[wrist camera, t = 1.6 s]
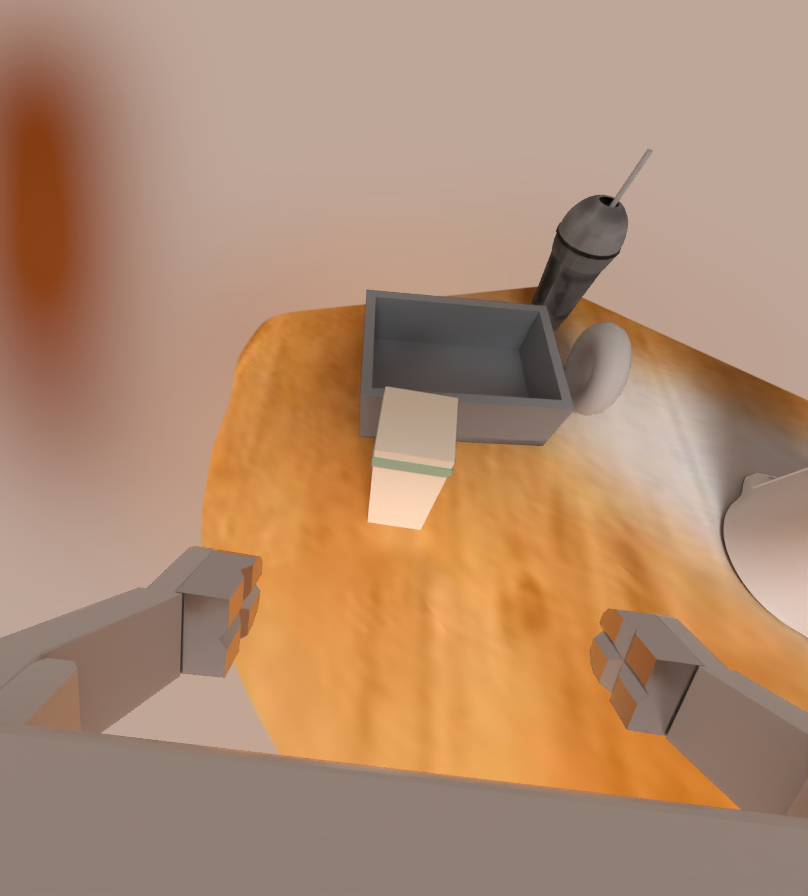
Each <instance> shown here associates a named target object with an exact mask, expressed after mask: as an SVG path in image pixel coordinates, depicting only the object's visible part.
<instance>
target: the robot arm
mask: <svg viewBox="0 0 808 896" xmlns="http://www.w3.org/2000/svg"><path fill="white" fill-rule="evenodd" d="M724 540H725V545H726V549H727V552H728V555H729V557H730V560H731V562H732V564H733V566H734V568H735V570H736V572H737V574H738V575H739V577H740V579H741V580H742V582H743V583H744V584H745V586H746V587H747V589H748V590H749V591H750V592H751V594H752V595H753V596H754V597H755V598H756V599H757V600H758V601H759V602H760V604H762V605H763V606H764V607H765V608H766V609H767V610H768V611H769V612H770V613H771V614H773V615H774V616H775V617H776V618H778V619H779V620H780V621H782V622H783V623H785V624H786V625H788V626H789V627H791V628H793V629H794V630H796V631H798V632H799V633H801V634H802V635H804V636H805V637H807V638H808V467H807V468H804V469H801V470H798V471H795V472H793V473H790V474H787V475H784V476H782V477H777V476H773V475H768V474H764V473H754V474H751V475H748V476H747V477H746V478H745V480H744V483H743V488H742V494H741V495H740V497H739V498H738V499H737V500H736V501H735V502H734V503H732V505H731V506H730V507H729V509H728V511H727V513H726V516H725V519H724ZM261 574H262V559H261V557H259V556H254V555H248V554H242V553H236V552H230V551H224V550H216V549H212V548H205V547H197V546H194V547H190V548H188V549H187V550H186V551H185V552H184V553H183V554H182V555H181V556H180V557H179V558H178V559H177V560H176V561H175V562H174V563H173V564H172V565H170V566H169V567H168V569H166V570H165V571H164V572H163V573H162V574H161V575H160V576H159V577H158V578H157V579H156V580H155V581H154V582H153V583H152V584H151V585H150V586H149V587H147V588H136V589H133V590H131V591H128V592H125V593H122V594H120V595H117V596H114V597H111V598H109V599H106V600H103V601H101V602H98V603H95V604H92V605H90V606H87V607H84V608H81V609H79V610H76V611H73V612H70V613H68V614H65V615H62V616H60V617H57V618H54V619H51V620H49V621H46V622H43V623H40V624H38V625H35V626H32V627H29V628H27V629H24V630H21V631H19V632H16V633H13V634H10V635H8V636H5V637H2V638H0V896H808V713H806V712H805V711H803V710H801V709H800V708H798V707H796V706H794V705H793V704H791V703H789V702H788V701H786V700H784V699H783V698H781V697H779V696H777V695H776V694H774V693H772V692H771V691H769V690H767V689H766V688H764V687H762V686H760V685H759V684H757V683H755V682H754V681H752V680H750V679H749V678H747V677H745V676H743V675H742V674H740V673H738V672H737V671H731V670H729V669H728V668H727V667H726V666H725V665H724V664H723V663H722V662H721V661H720V660H719V659H718V658H717V657H716V656H715V655H714V654H713V653H711V652H710V651H709V650H708V649H707V648H706V647H705V646H704V645H703V644H702V643H701V642H700V641H699V640H698V639H697V638H696V637H695V636H694V635H693V634H692V633H691V632H690V631H689V630H688V629H687V628H686V627H685V626H684V625H683V624H682V623H681V622H680V621H679V620H678V619H676V618H674V617H672V616H669V615H660V614H651V613H649V614H648V613H640V612H632V611H624V610H616V609H607V610H606V611H605V612H604V613H603V615H602V617H601V620H600V625H601V628H602V630H603V632H601V633H600V634H599V635H597V636H596V637H595V638H594V639H593V642H592V646H591V649H590V662H591V666H592V669H593V673H594V675H595V676H596V678H597V680H598V682H599V683H600V684H601V685H602V686H604V687H605V688H606V689H607V690H608V691H610V692H611V695H610V702H611V704H612V706H613V707H614V709H615V711H616V712H617V714H618V716H619V717H620V719H621V721H622V722H623V724H624V726H625V728H626V729H627V730H632V731H638V732H644V733H650V734H656V735H663V736H667V737H666V739H667V740H668V741H669V742H671V743H672V744H673V745H674V746H675V747H676V748H677V749H678V750H679V751H680V752H681V753H682V754H683V755H684V756H685V757H686V758H687V759H688V760H689V761H691V762H692V763H693V764H694V765H695V766H696V767H697V768H698V769H699V770H700V771H701V772H702V773H703V774H704V775H705V776H706V777H707V778H708V779H709V780H711V781H712V782H713V783H714V784H715V785H716V786H717V787H718V788H719V789H720V790H721V791H722V792H723V793H724V794H725V795H726V796H727V797H728V798H729V799H731V800H732V801H733V802H734V803H735V804H736V805H737V806H738V807H739V808H740V809H741V810H735V809H726V808H718V807H710V806H702V805H693V804H685V803H677V802H669V801H660V800H652V799H644V798H636V797H628V796H619V795H611V794H603V793H595V792H587V791H578V790H570V789H562V788H553V787H545V786H537V785H528V784H520V783H511V782H503V781H494V780H486V779H478V778H469V777H461V776H452V775H444V774H435V773H427V772H418V771H410V770H402V769H393V768H385V767H376V766H368V765H360V764H351V763H343V762H334V761H326V760H318V759H309V758H301V757H293V756H284V755H275V754H267V753H258V752H251V751H242V750H234V749H226V748H217V747H209V746H200V745H192V744H183V743H175V742H166V741H159V740H150V739H142V738H133V737H125V736H117V735H108V734H100V733H102V732H103V731H104V730H106V729H107V728H109V727H110V726H111V725H113V724H114V723H115V722H117V721H118V720H120V719H121V718H122V717H124V716H125V715H127V714H128V713H129V712H131V711H132V710H133V709H135V708H136V707H138V706H139V705H140V704H142V703H143V702H144V701H146V700H147V699H149V698H150V697H151V696H153V695H154V694H156V693H157V692H158V691H160V690H161V689H163V688H164V687H165V686H167V685H168V684H169V683H171V682H172V681H173V680H175V679H176V678H178V677H179V676H180V673H183V674H193V675H203V676H213V677H223V678H225V676H226V674H227V673H228V671H229V669H230V667H231V665H232V663H233V661H234V659H235V658H236V656H237V654H238V652H239V644H240V639H242V638H243V637H245V636H247V635H248V633H249V631H250V629H251V627H252V625H253V622H254V619H255V616H256V613H257V609H258V604H259V598H260V590H259V588H258V587H257V585H256V583H257V581H258V579H259V578H260V576H261Z"/></svg>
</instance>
